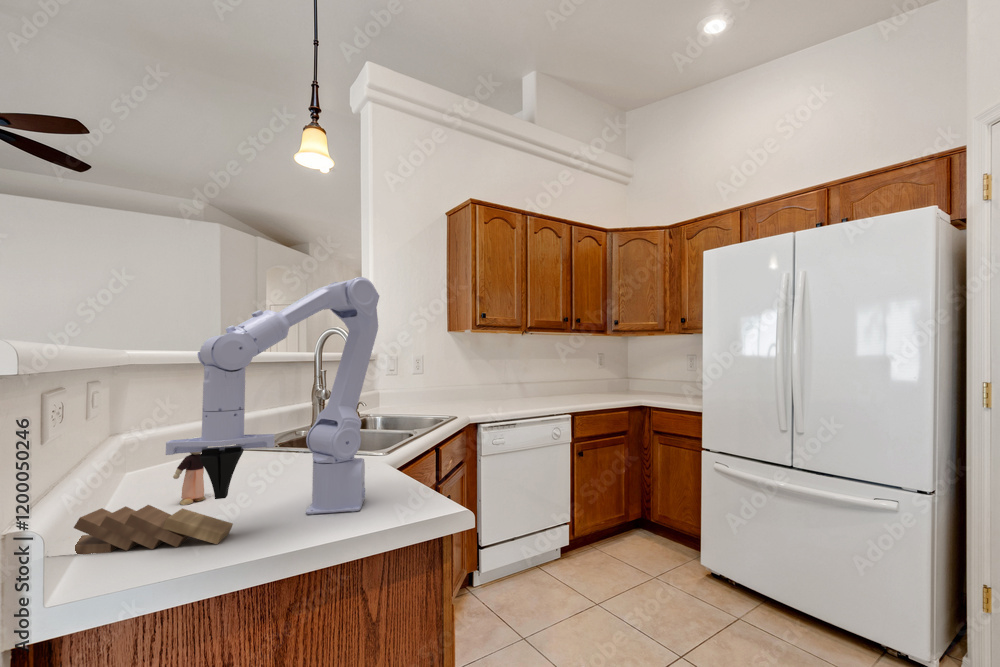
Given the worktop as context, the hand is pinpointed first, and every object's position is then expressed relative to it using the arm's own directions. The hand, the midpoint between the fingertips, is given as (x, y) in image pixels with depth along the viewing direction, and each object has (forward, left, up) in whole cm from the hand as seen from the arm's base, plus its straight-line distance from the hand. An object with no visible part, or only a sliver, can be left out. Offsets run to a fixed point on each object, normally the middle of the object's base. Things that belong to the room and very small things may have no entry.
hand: (221, 497), depth 70 cm
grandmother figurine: (+13, -22, -7) cm, 27 cm away
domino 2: (+14, 0, -6) cm, 15 cm away
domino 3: (+8, 0, -6) cm, 10 cm away
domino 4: (+5, 0, -6) cm, 7 cm away
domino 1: (+11, 0, -6) cm, 13 cm away
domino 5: (-1, 0, -6) cm, 6 cm away
